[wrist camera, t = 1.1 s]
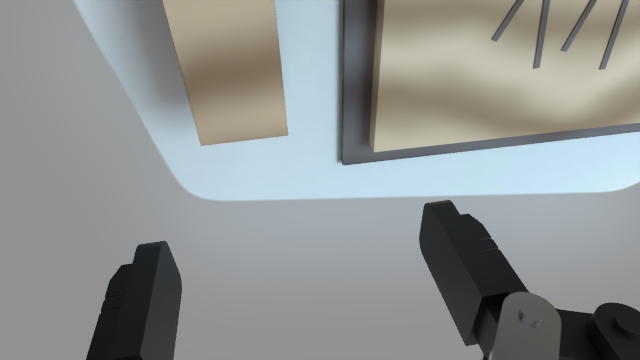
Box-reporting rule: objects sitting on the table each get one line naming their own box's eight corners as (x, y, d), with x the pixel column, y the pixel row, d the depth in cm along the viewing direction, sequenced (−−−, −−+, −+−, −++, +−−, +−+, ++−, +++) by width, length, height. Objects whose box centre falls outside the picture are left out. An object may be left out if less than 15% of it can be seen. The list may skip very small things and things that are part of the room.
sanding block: (171, -52, 22) (155, -29, 18) (263, -58, 23) (270, -38, 18) (206, 98, 28) (200, 145, 23) (279, 90, 28) (288, 135, 24)
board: (346, -220, 19) (357, -228, 17) (846, -223, 22) (897, -230, 21) (341, 161, 33) (347, 177, 31) (652, 125, 36) (673, 139, 34)
